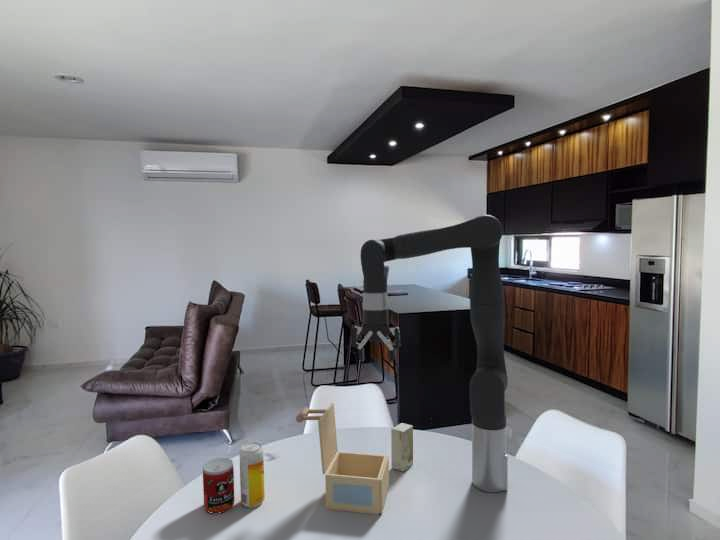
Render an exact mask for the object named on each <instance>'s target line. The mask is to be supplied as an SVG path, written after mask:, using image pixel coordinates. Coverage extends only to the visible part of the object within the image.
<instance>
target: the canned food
mask: <svg viewBox="0 0 720 540" xmlns="http://www.w3.org/2000/svg"><path fill="white" fill-rule="evenodd" d="M234 470H235V469H234V461H233V459H231V458H227V457H217V458H214V459H211V460H208V461H206V462H205V463H204V465H203V466H202V484H203V485H202V486H203V490H202V491H203V508H204V510H205V509H206V510H207V511H209V512H212V513H219V512H223V511H226V510H228V509H229V508H230V509H232V507H233V506H234V504H235V473H234ZM230 509H229V510H230ZM206 510H205V511H206ZM229 510H228V511H229ZM207 511H206V512H207ZM226 512H227V511H226ZM223 513H224V512H223Z"/></svg>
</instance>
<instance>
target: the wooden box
mask: <svg viewBox="0 0 720 540" xmlns="http://www.w3.org/2000/svg"><path fill="white" fill-rule="evenodd" d="M389 459H390V458H389V456H388V455H387V454H386V455H385V454H373V453H372V454H371V453H370V454H369V453H361V452H360V453H359V452H348V451H347V452H345V451H337V453H336V455H335V457H334V459H333V460H332V462H331V464H330V466H329V468H328V469H327V471H326V473H325V474H324V475H325V477H324V479H325V509H326V510H332V511H333V510H334V511H342V512H351V513H359V514H360V513H361V514H367V515H368V514H369V515H378V516H381V514H383V511H384V506H385V503H386V500H387V495H388V491H389V488H390V465H389V464H390V461H389Z"/></svg>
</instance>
